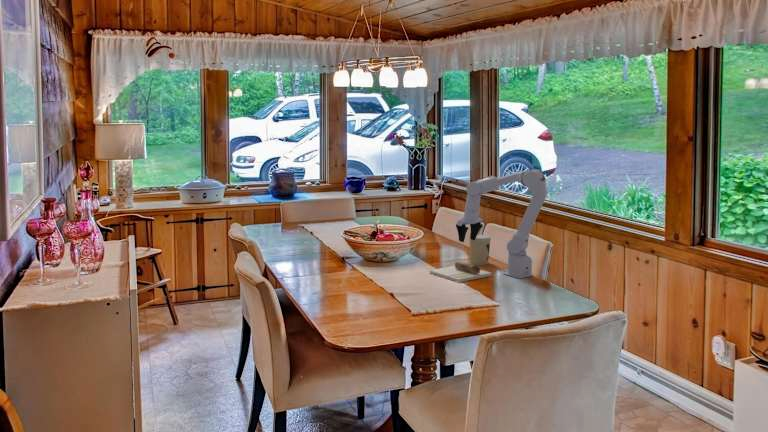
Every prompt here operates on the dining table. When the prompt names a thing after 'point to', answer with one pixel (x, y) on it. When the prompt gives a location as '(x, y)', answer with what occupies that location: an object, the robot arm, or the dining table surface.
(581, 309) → the dining table surface
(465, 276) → the latch board
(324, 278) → the dining table surface
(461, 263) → the bar
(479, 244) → the coffee cup
